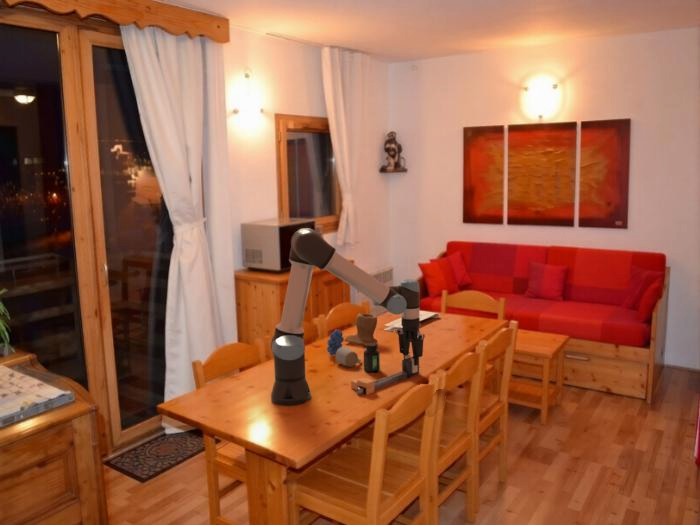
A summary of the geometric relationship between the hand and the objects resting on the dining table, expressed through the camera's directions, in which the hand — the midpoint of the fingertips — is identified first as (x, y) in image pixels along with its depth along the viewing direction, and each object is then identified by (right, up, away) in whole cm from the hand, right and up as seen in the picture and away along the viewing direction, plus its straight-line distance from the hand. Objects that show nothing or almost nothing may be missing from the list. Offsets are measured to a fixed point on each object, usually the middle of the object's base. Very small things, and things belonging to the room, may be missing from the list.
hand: (411, 371), depth 252 cm
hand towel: (+9, +11, +81) cm, 82 cm away
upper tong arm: (-10, -3, -9) cm, 14 cm away
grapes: (-33, +2, +30) cm, 45 cm away
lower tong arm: (-8, -3, -9) cm, 12 cm away
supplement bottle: (-16, -1, +6) cm, 18 cm away
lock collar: (-21, -5, -16) cm, 27 cm away
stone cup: (-19, +5, +47) cm, 51 cm away
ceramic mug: (-26, 0, +16) cm, 31 cm away
